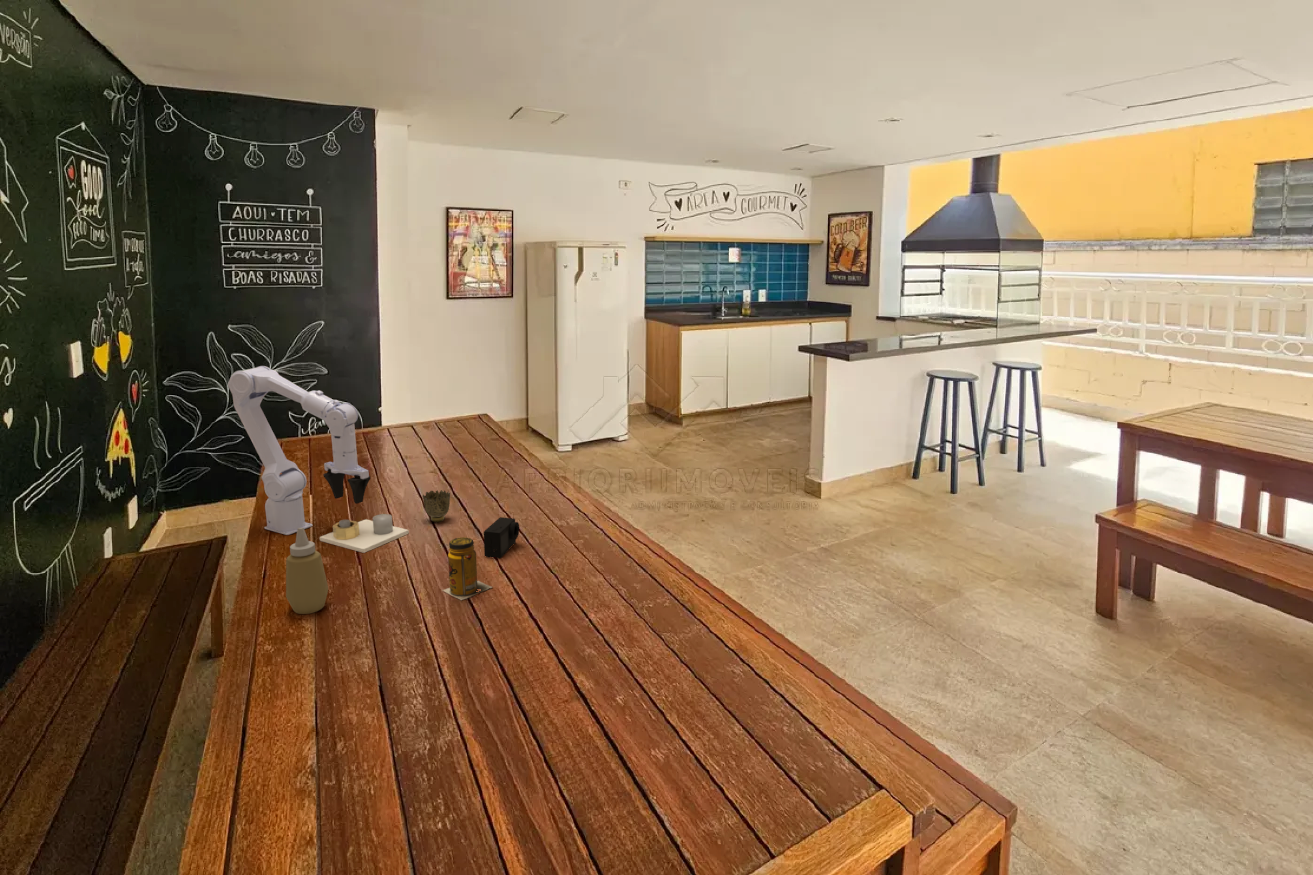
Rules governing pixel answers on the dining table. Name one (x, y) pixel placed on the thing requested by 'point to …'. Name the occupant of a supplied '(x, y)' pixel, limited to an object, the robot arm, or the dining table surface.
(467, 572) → the condiment
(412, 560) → the dining table surface
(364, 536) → the stub board
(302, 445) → the dining table surface
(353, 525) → the ring
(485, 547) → the digital camera
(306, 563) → the squeeze bottle
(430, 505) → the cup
